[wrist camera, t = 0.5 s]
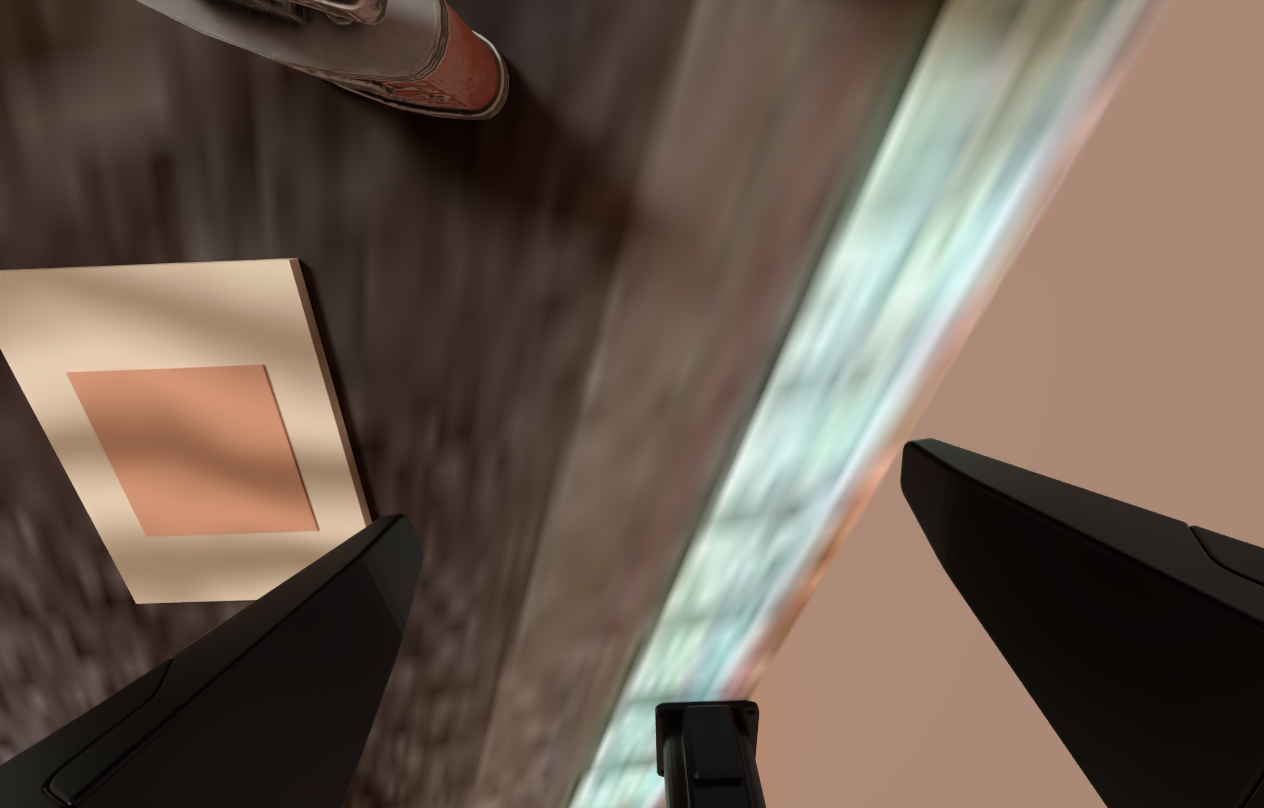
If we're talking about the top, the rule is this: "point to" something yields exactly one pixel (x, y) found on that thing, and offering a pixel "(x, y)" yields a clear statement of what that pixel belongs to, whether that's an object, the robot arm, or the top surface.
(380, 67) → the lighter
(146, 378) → the card
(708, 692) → the top surface
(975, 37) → the top surface
